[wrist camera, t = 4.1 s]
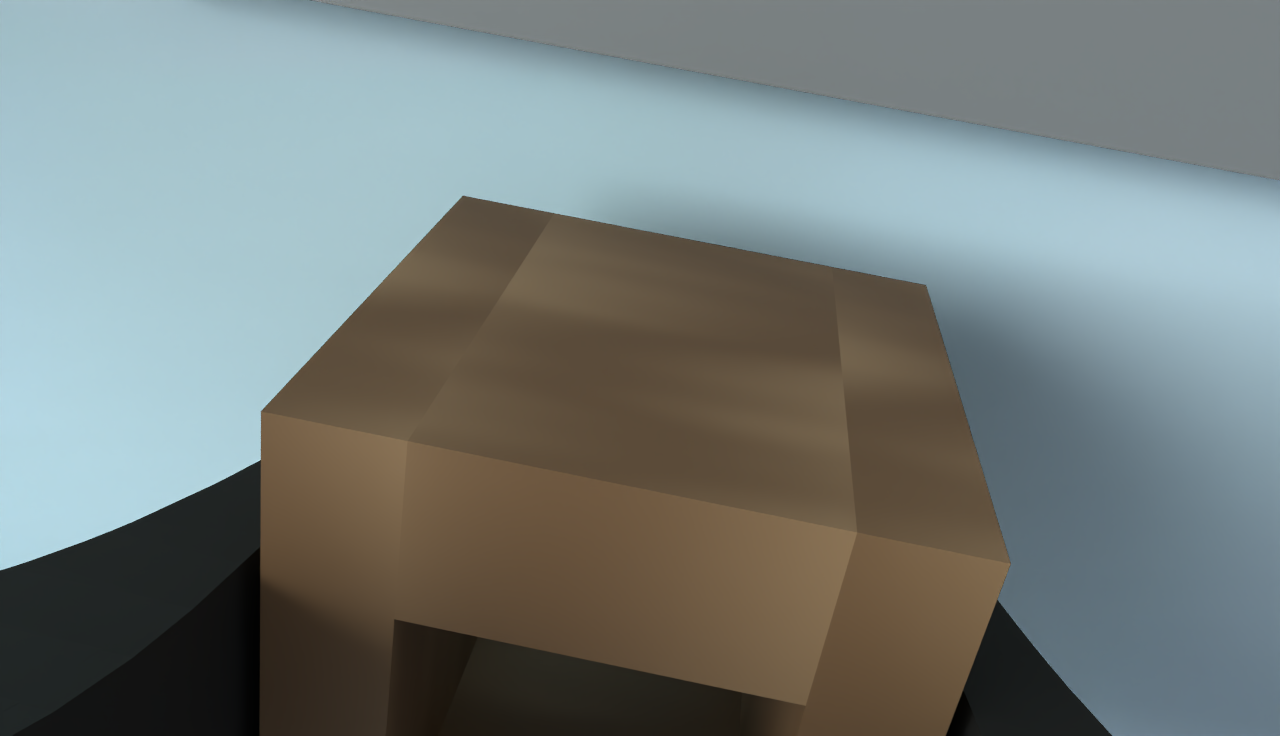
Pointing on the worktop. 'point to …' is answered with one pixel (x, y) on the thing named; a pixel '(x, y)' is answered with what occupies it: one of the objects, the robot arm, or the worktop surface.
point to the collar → (621, 498)
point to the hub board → (956, 60)
